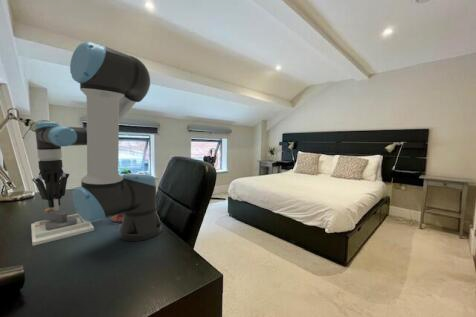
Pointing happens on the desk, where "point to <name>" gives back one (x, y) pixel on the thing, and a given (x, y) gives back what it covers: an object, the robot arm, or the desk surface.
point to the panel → (58, 230)
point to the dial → (58, 219)
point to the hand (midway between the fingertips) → (55, 213)
